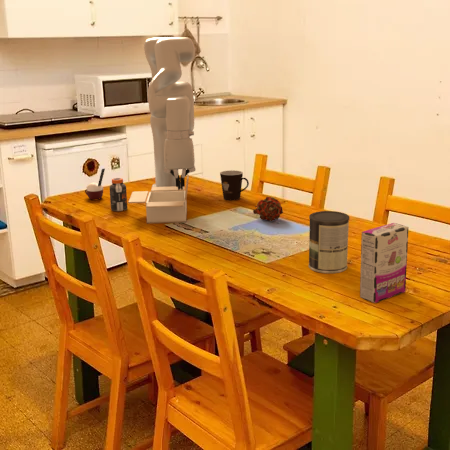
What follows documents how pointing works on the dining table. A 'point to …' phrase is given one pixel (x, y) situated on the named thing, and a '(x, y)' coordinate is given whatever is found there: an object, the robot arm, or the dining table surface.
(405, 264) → the candy bar box
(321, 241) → the coffee can
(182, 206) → the carton
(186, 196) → the flap
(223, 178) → the coffee mug
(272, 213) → the dark red rounded piece
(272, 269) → the dining table surface
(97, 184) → the cocoa
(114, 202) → the pill bottle
